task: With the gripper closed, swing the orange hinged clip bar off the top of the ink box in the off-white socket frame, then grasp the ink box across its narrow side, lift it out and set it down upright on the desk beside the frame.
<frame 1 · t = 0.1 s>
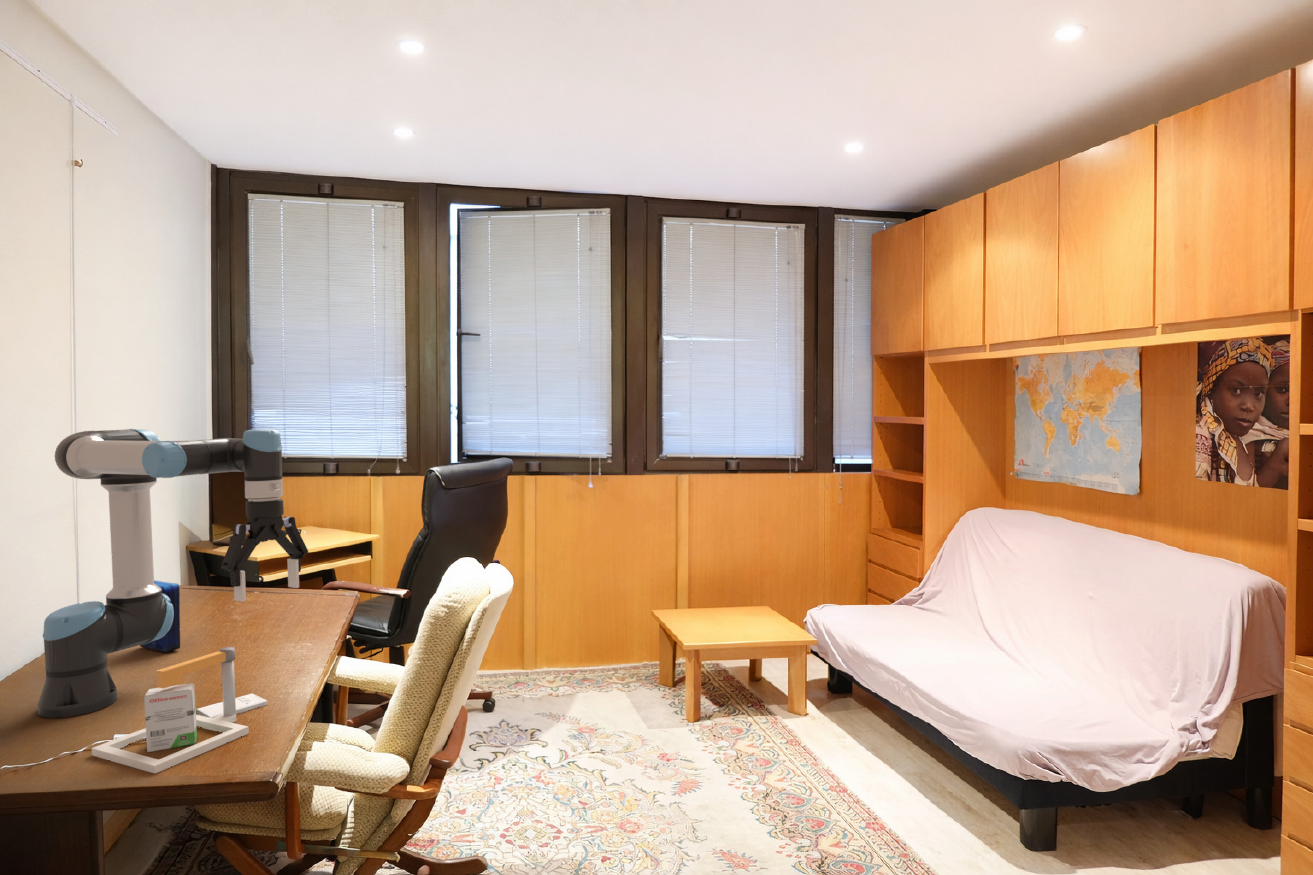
hand: (267, 593, 176), 28 cm above the table, tool pointing down, fingers open, 13 cm apart
socket frame: (172, 744, 163), on the table
external hard drive: (232, 711, 182), on the table
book: (160, 650, 229), on the table
ink box: (172, 745, 163), resting in socket frame
clip: (198, 666, 169), point 14 cm above the table, hinge at 0.0°
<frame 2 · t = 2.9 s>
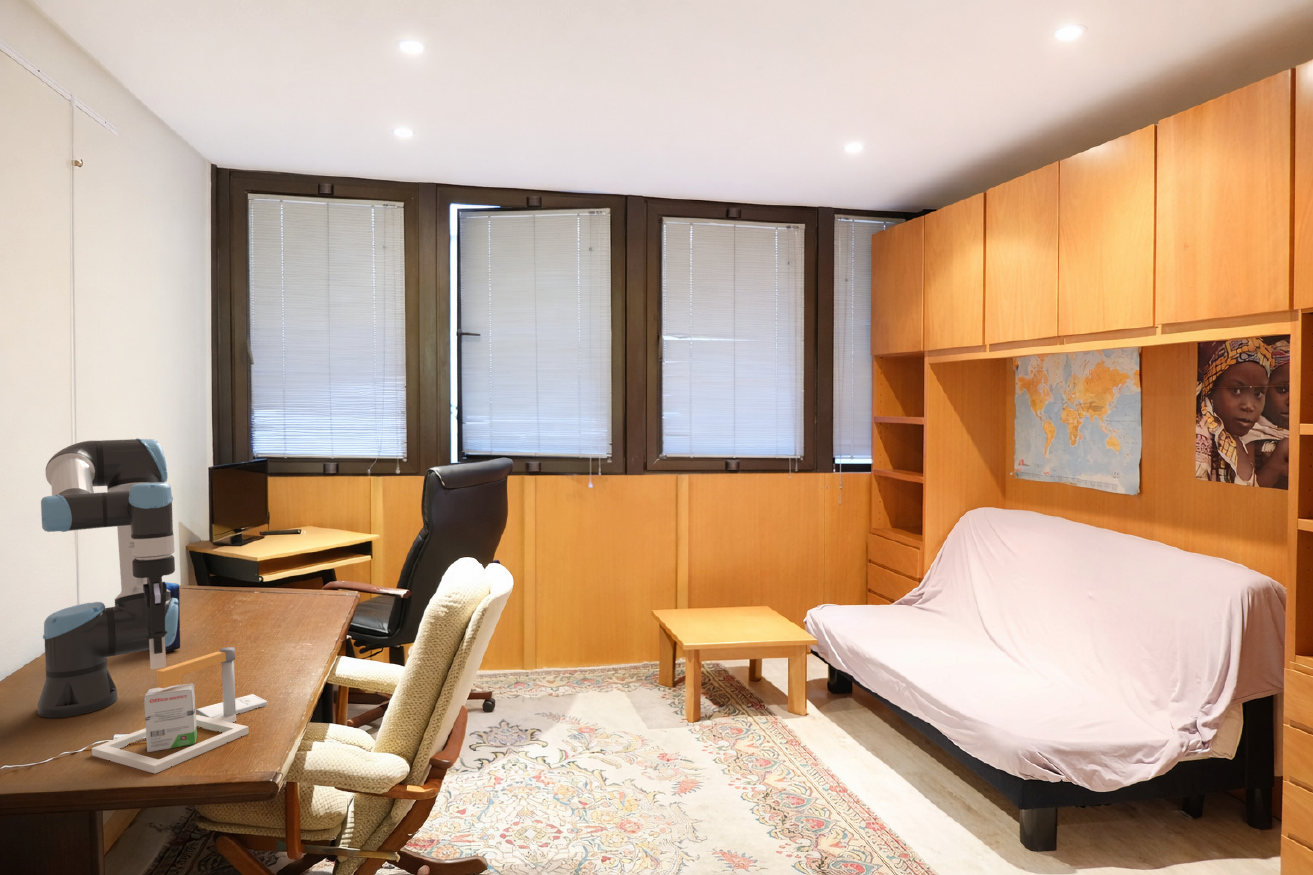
hand: (158, 667, 167), 15 cm above the table, tool pointing down, fingers closed
nothing on the table moved.
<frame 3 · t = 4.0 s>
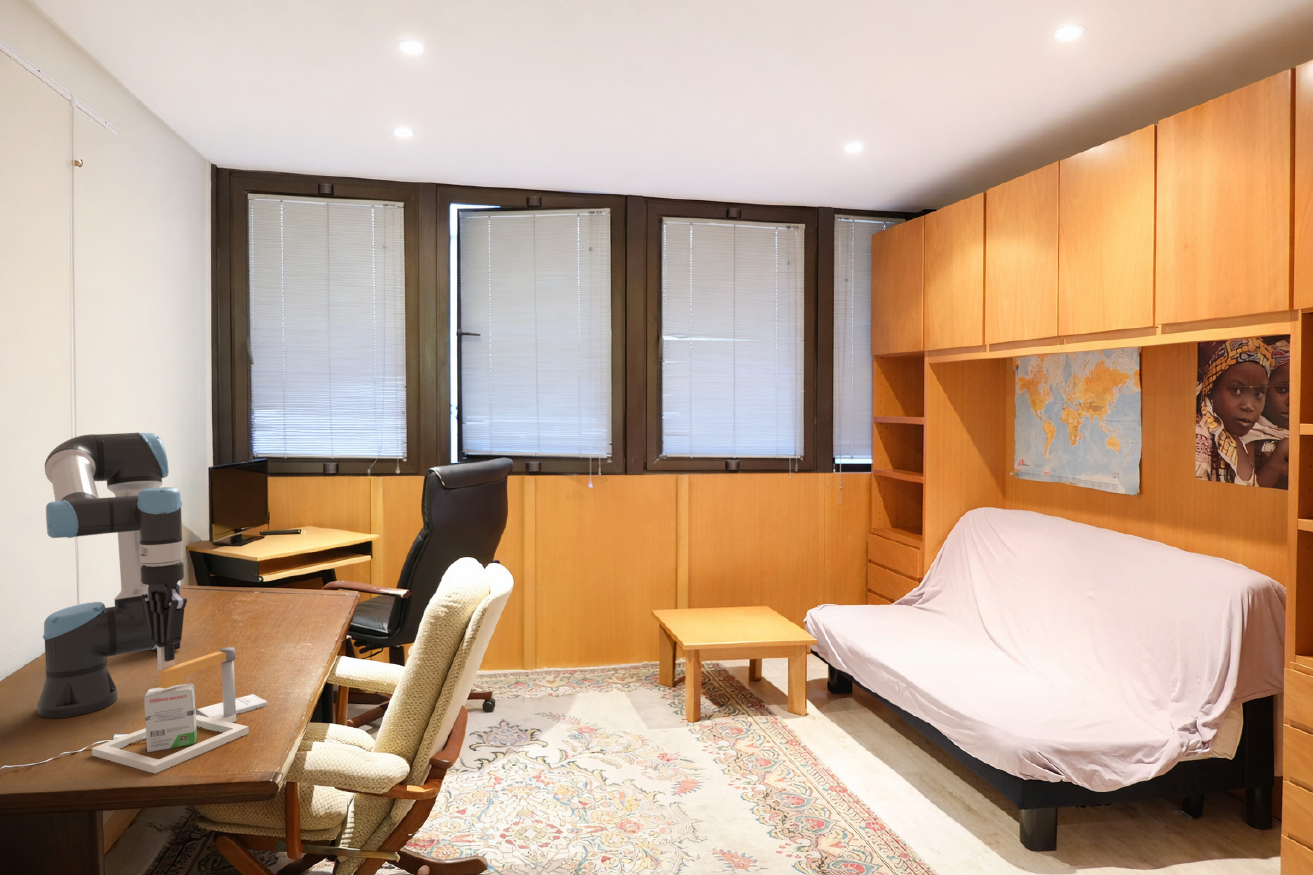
hand: (166, 675, 164), 14 cm above the table, tool pointing down, fingers closed
clip: (199, 666, 168), point 14 cm above the table, hinge at 2.0°, touching gripper
everything else where it was.
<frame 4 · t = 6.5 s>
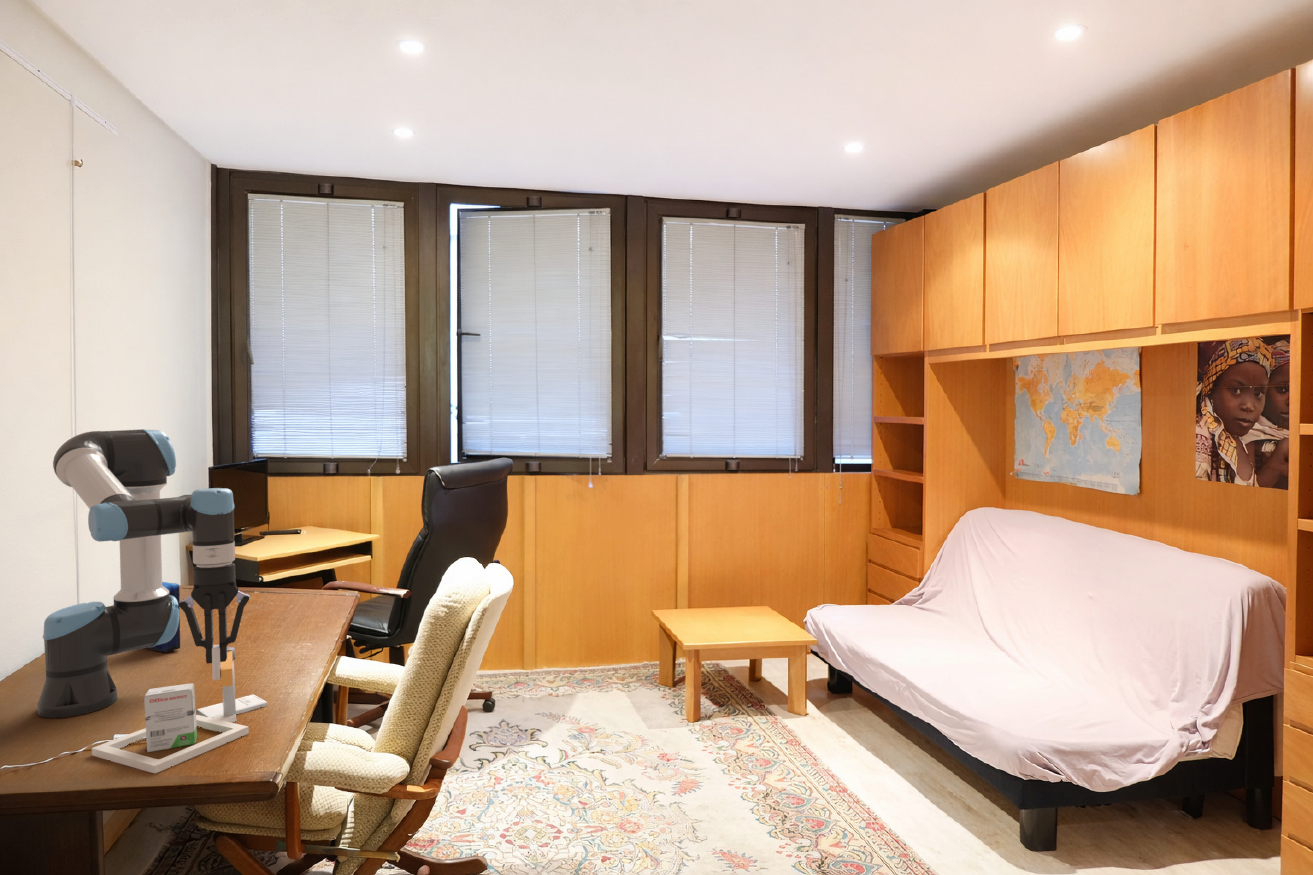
hand: (217, 677, 162), 14 cm above the table, tool pointing down, fingers closed
clip: (227, 665, 169), point 14 cm above the table, hinge at 53.3°, touching gripper
everything else where it was.
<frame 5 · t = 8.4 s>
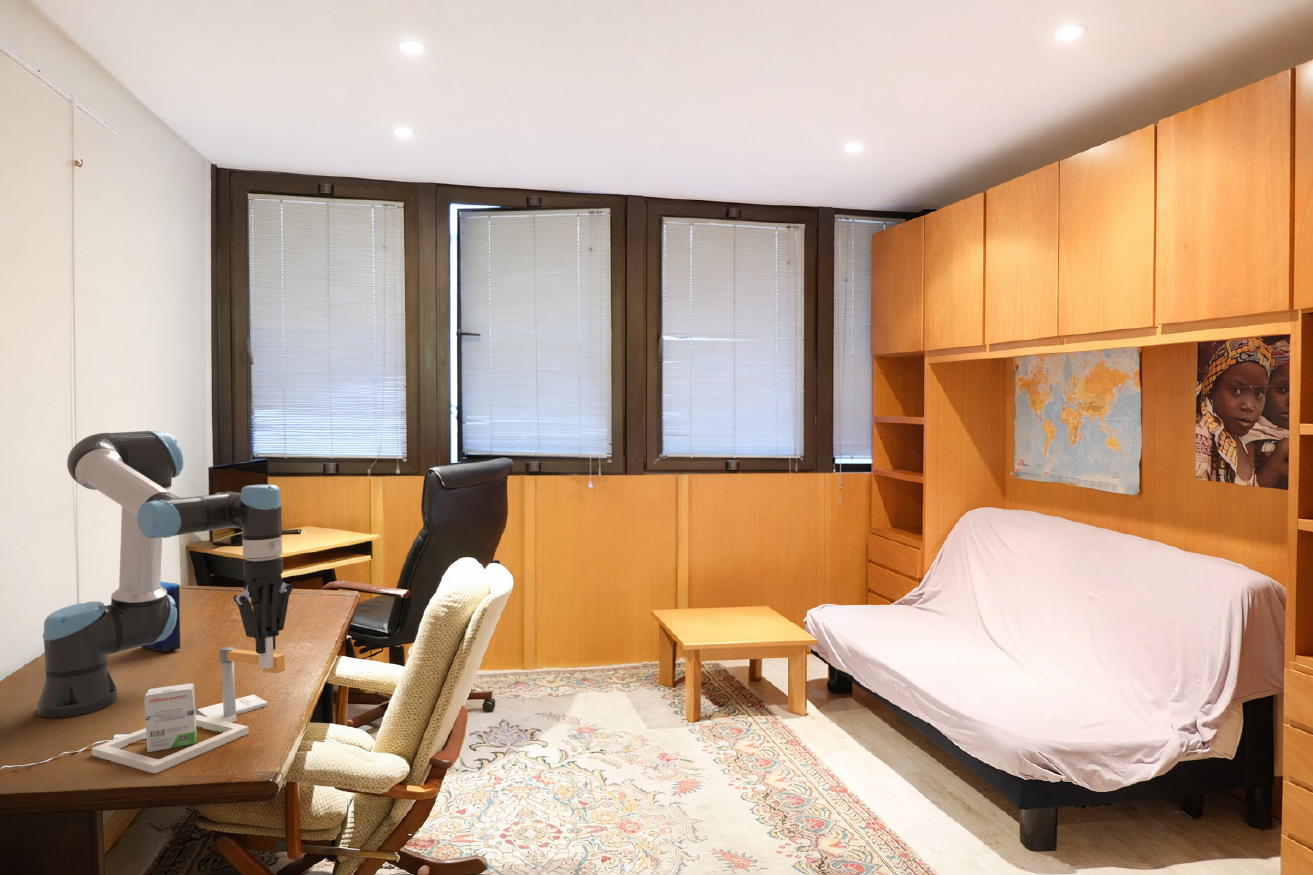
hand: (266, 666, 169), 14 cm above the table, tool pointing down, fingers closed
clip: (251, 659, 172), point 14 cm above the table, hinge at 96.1°, touching gripper
everything else where it was.
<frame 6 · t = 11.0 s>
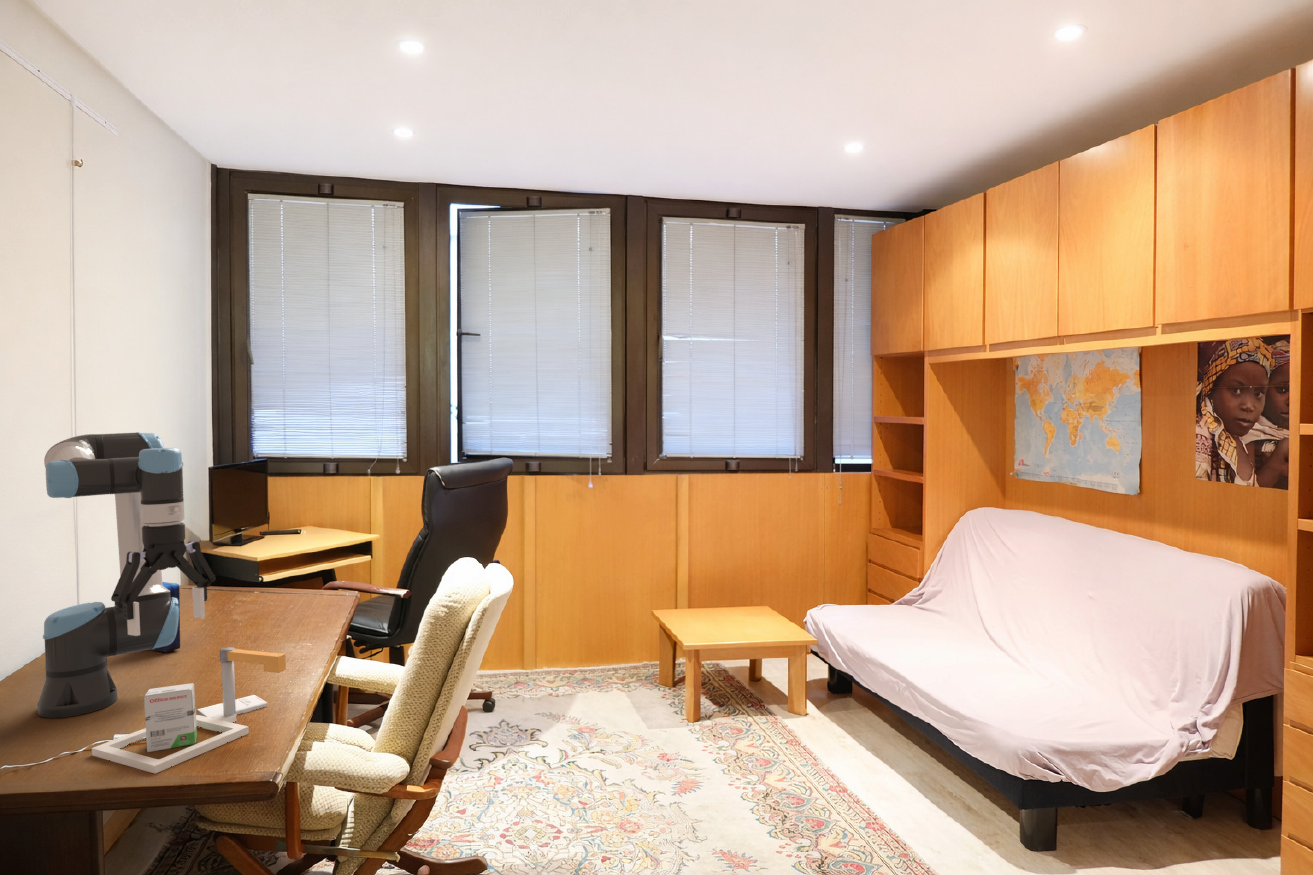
hand: (167, 626, 162), 25 cm above the table, tool pointing down, fingers open, 13 cm apart
clip: (251, 659, 173), point 14 cm above the table, hinge at 97.3°
everything else where it was.
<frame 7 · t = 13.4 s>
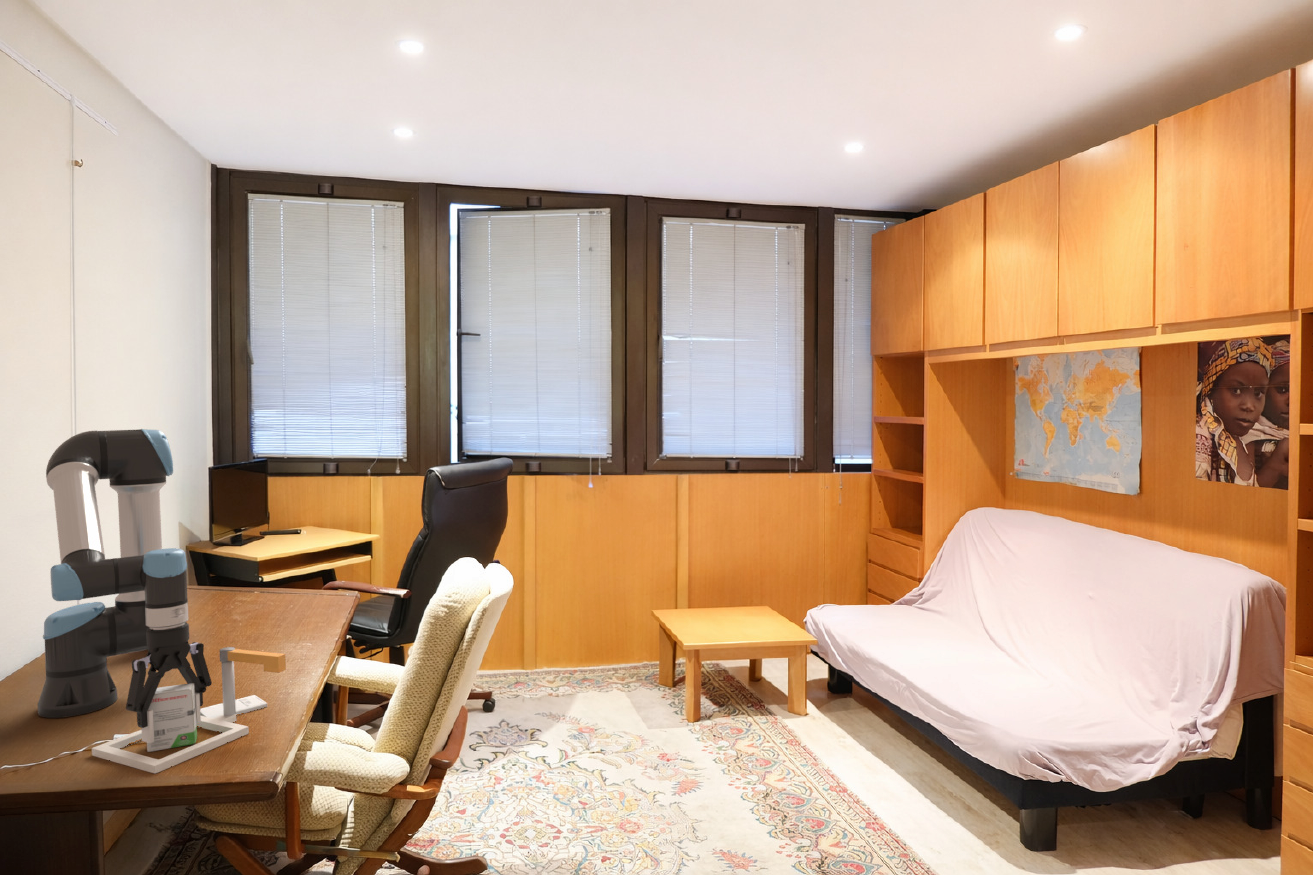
hand: (172, 731, 163), 3 cm above the table, tool pointing down, fingers closed on ink box, 9 cm apart
ink box: (172, 744, 164), resting in socket frame, touching gripper
everything else where it was.
when the fingers open (4 cm above the table, at t = 22.0 s): ink box drops 1 cm, on the table.
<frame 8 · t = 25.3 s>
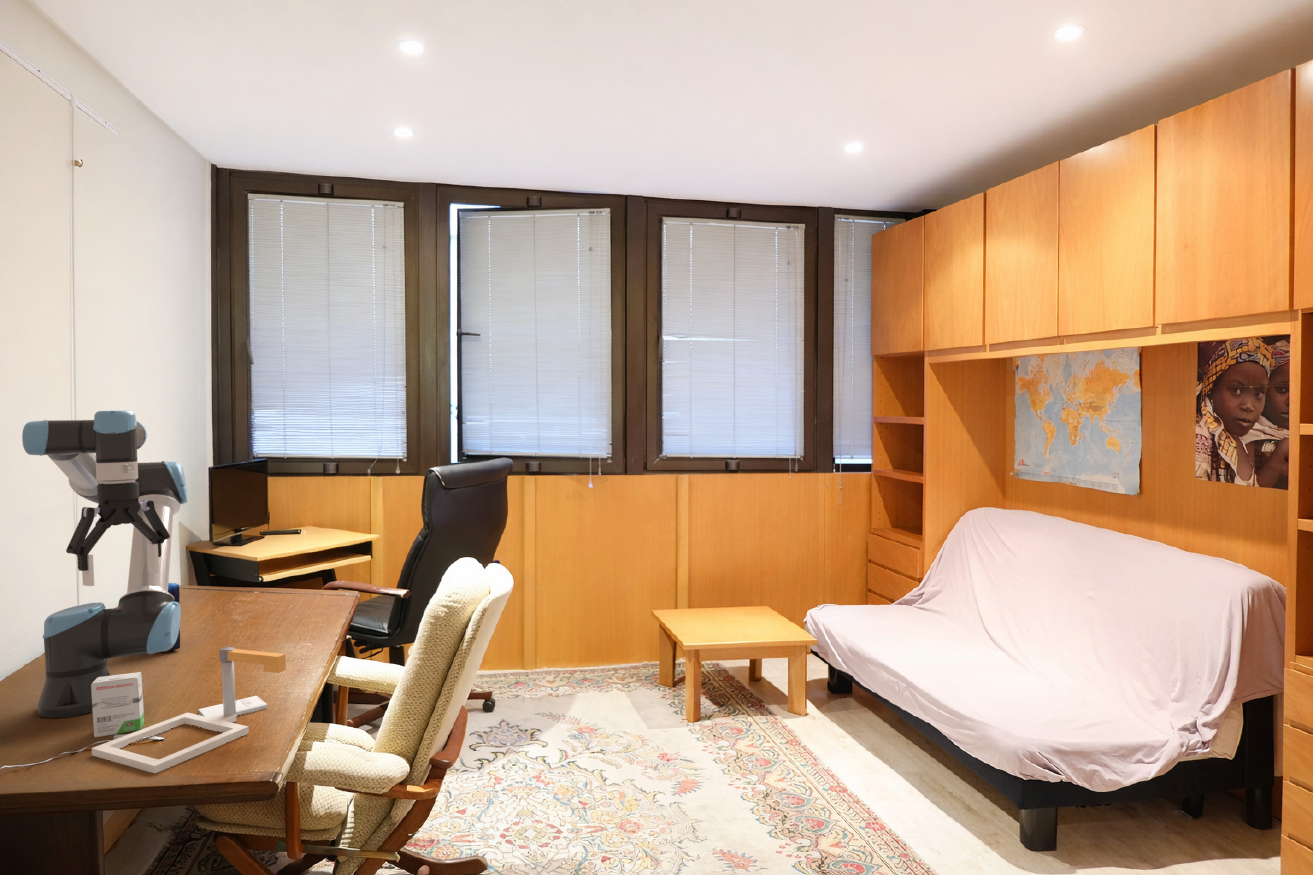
hand: (122, 578, 172), 33 cm above the table, tool pointing down, fingers open, 13 cm apart
ink box: (119, 731, 171), on the table
at the end: clip at +97° (first picture: +0°); ink box inside the target area (0.1 cm from its centre), on the table; ink box tilted 0° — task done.
